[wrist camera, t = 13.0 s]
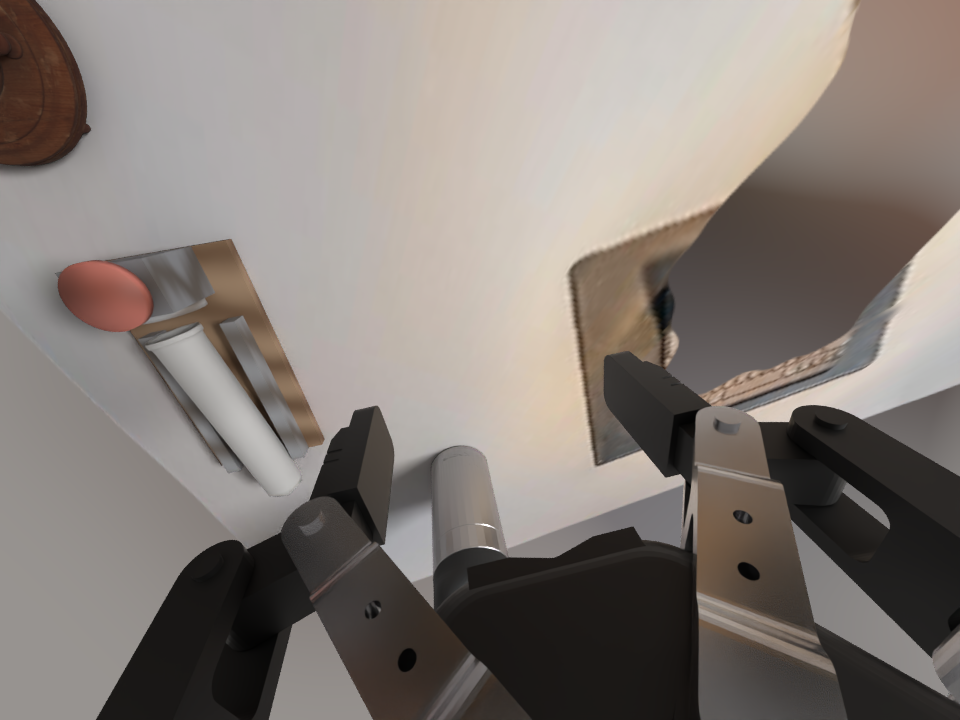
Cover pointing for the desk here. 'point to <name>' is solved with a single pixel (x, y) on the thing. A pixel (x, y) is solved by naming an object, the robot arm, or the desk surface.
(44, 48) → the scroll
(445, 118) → the desk surface
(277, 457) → the tube
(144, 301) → the pipe rack
